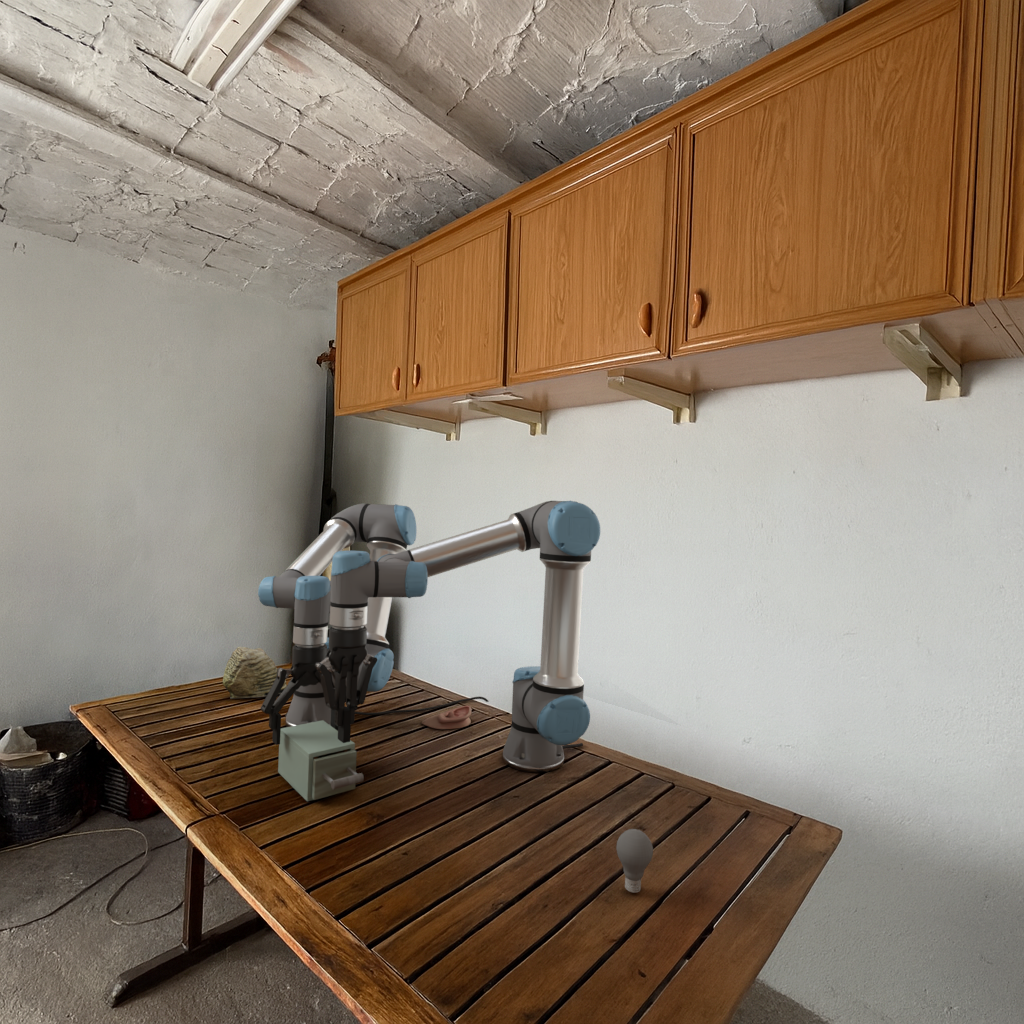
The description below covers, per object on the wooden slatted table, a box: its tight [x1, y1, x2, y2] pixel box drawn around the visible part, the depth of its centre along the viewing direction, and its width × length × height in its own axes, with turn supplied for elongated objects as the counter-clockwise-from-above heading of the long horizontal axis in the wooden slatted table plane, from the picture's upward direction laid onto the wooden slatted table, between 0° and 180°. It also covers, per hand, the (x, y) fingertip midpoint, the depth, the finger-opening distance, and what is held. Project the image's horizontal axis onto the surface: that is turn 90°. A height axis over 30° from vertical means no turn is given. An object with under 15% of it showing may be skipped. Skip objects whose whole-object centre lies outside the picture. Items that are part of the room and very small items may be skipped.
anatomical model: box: [421, 705, 472, 730], centre depth 181 cm, size 13×4×12 cm
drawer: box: [312, 749, 364, 801], centre depth 137 cm, size 22×9×8 cm, turn 40°
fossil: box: [222, 646, 288, 699], centre depth 198 cm, size 9×18×15 cm, turn 132°
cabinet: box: [277, 720, 356, 802], centre depth 141 cm, size 17×10×10 cm, turn 40°
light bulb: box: [615, 828, 654, 894], centre depth 106 cm, size 6×6×10 cm
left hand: (305, 736), depth 145 cm, fingers open, 13 cm apart
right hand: (343, 740), depth 130 cm, fingers closed
